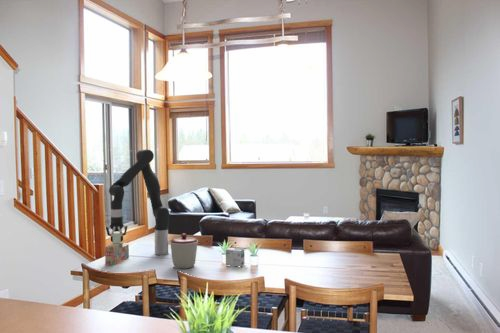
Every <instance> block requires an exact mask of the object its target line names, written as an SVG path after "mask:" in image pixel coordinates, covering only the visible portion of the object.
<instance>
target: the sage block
mask: <svg viewBox="0 0 500 333" xmlns="http://www.w3.org/2000/svg"><path fill="white" fill-rule="evenodd" d="M112 243H122V242H121V233H120V232H119V231H118V232H114V233H113V242H112Z"/></svg>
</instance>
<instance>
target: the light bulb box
mask: <svg viewBox="0 0 500 333" xmlns="http://www.w3.org/2000/svg"><path fill="white" fill-rule="evenodd" d="M244 264H246V263H245V248H241V247H228V248H226V249H225V266H226V265H230V266H229V267H231V266H240V267H239V268H242V267H244V266H245V265H244ZM243 265H244V266H243ZM241 266H242V267H241Z"/></svg>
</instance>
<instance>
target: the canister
mask: <svg viewBox="0 0 500 333" xmlns="http://www.w3.org/2000/svg"><path fill="white" fill-rule="evenodd" d="M198 242H199V240H198V238H196V237H193V236H188V235H187V233H184V232H183V233H181V235H180V236H177V237H174V238H171V240H168V243H169V244H170V251H171V259H172V265H173V266H174V268H176V269H182V270H183V269H191V268H193V267H194V266H195V264H196V261H197V260H196V258H197V250H198Z"/></svg>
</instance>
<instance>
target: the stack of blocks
mask: <svg viewBox="0 0 500 333" xmlns="http://www.w3.org/2000/svg"><path fill="white" fill-rule="evenodd" d="M104 248H105V249H104V256H105V257H104V260H105V263H104V265H105V266H113V265H114V266H117V264H120V263H121V262H123V261H125V260H127V259H128V258H129V257H130V250H129V244H128V243H124V242H121V243H113V242H112V243H110V244H107V245H106V246H105V247H104Z"/></svg>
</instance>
